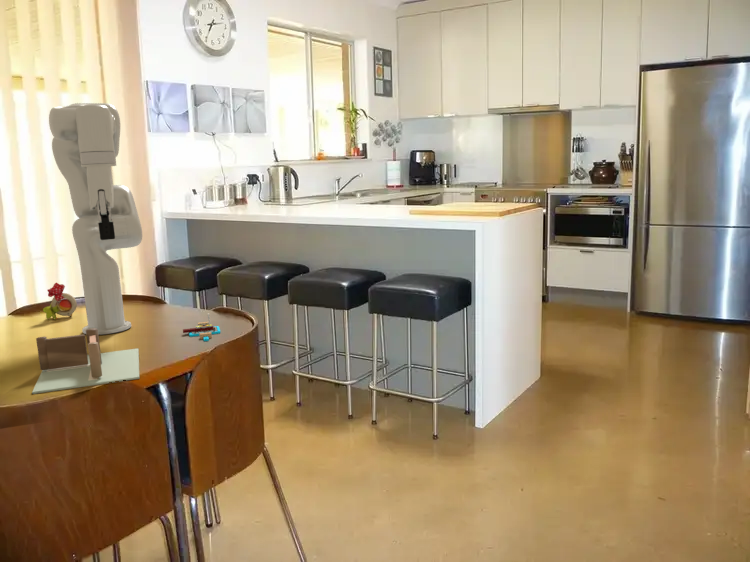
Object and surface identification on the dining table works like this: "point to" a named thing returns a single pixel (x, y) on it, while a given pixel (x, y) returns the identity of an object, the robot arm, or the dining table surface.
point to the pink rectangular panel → (94, 357)
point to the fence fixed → (64, 350)
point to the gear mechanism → (203, 330)
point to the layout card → (112, 366)
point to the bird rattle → (65, 305)
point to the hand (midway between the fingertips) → (107, 239)
